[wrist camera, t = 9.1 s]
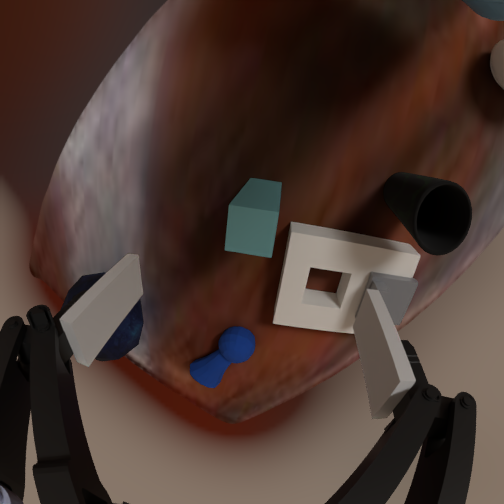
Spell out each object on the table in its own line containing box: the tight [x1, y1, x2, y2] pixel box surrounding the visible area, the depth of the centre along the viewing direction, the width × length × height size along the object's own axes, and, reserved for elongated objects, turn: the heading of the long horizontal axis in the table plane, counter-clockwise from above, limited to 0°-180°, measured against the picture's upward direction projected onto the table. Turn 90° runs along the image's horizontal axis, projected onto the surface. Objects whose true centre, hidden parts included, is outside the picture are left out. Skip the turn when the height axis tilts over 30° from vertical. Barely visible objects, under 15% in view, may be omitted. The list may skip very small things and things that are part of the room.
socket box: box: [273, 222, 420, 334], centre depth 37 cm, size 14×18×4 cm
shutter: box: [355, 272, 418, 325], centre depth 33 cm, size 7×7×4 cm
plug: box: [225, 178, 282, 258], centre depth 29 cm, size 4×4×14 cm
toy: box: [190, 326, 255, 388], centre depth 45 cm, size 7×6×15 cm
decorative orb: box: [61, 272, 143, 361], centre depth 39 cm, size 14×15×15 cm
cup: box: [384, 172, 472, 255], centre depth 27 cm, size 8×8×12 cm
